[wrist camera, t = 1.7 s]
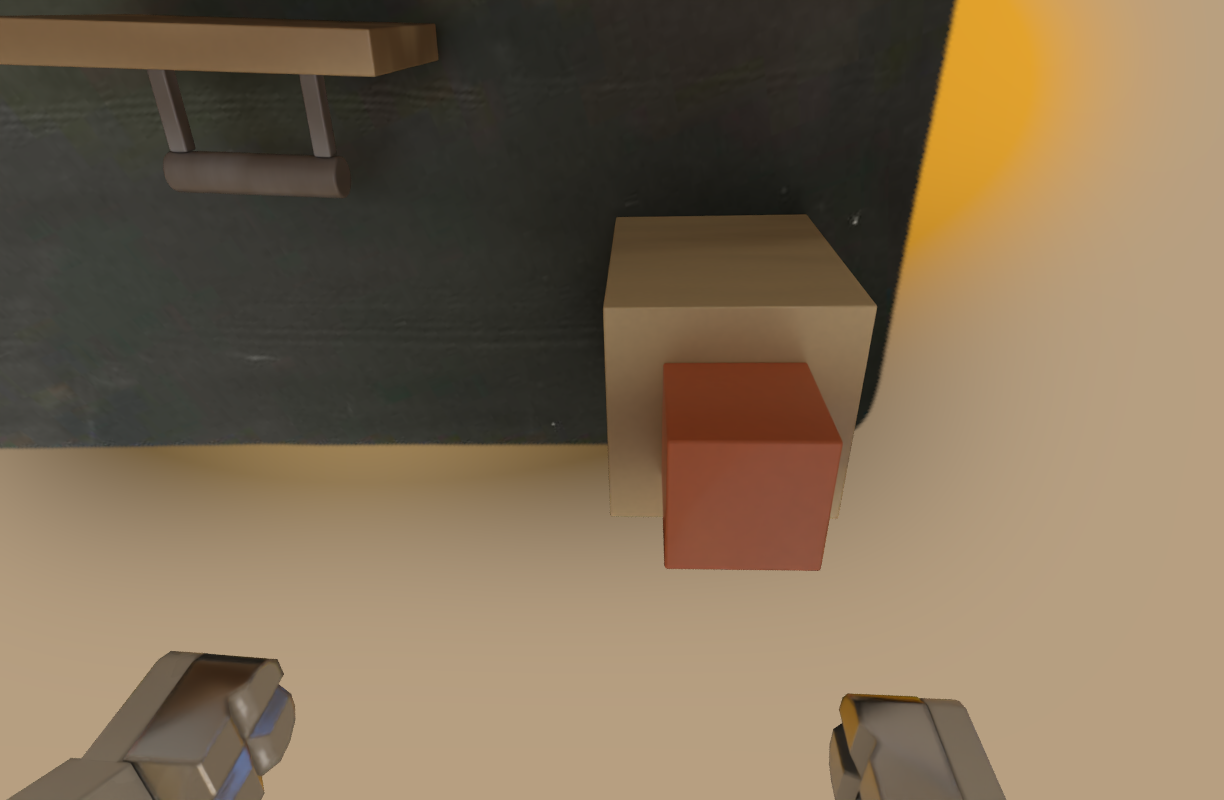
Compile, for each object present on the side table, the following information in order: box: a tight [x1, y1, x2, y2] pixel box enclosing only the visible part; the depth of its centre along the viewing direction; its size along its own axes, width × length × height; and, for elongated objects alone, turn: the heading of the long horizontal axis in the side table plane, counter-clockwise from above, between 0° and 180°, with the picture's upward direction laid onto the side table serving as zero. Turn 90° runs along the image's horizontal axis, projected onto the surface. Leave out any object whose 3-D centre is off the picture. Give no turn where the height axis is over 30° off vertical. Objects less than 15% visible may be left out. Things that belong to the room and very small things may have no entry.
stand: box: [603, 215, 877, 518], centre depth 26 cm, size 8×8×10 cm
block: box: [662, 363, 843, 571], centre depth 20 cm, size 4×4×4 cm
